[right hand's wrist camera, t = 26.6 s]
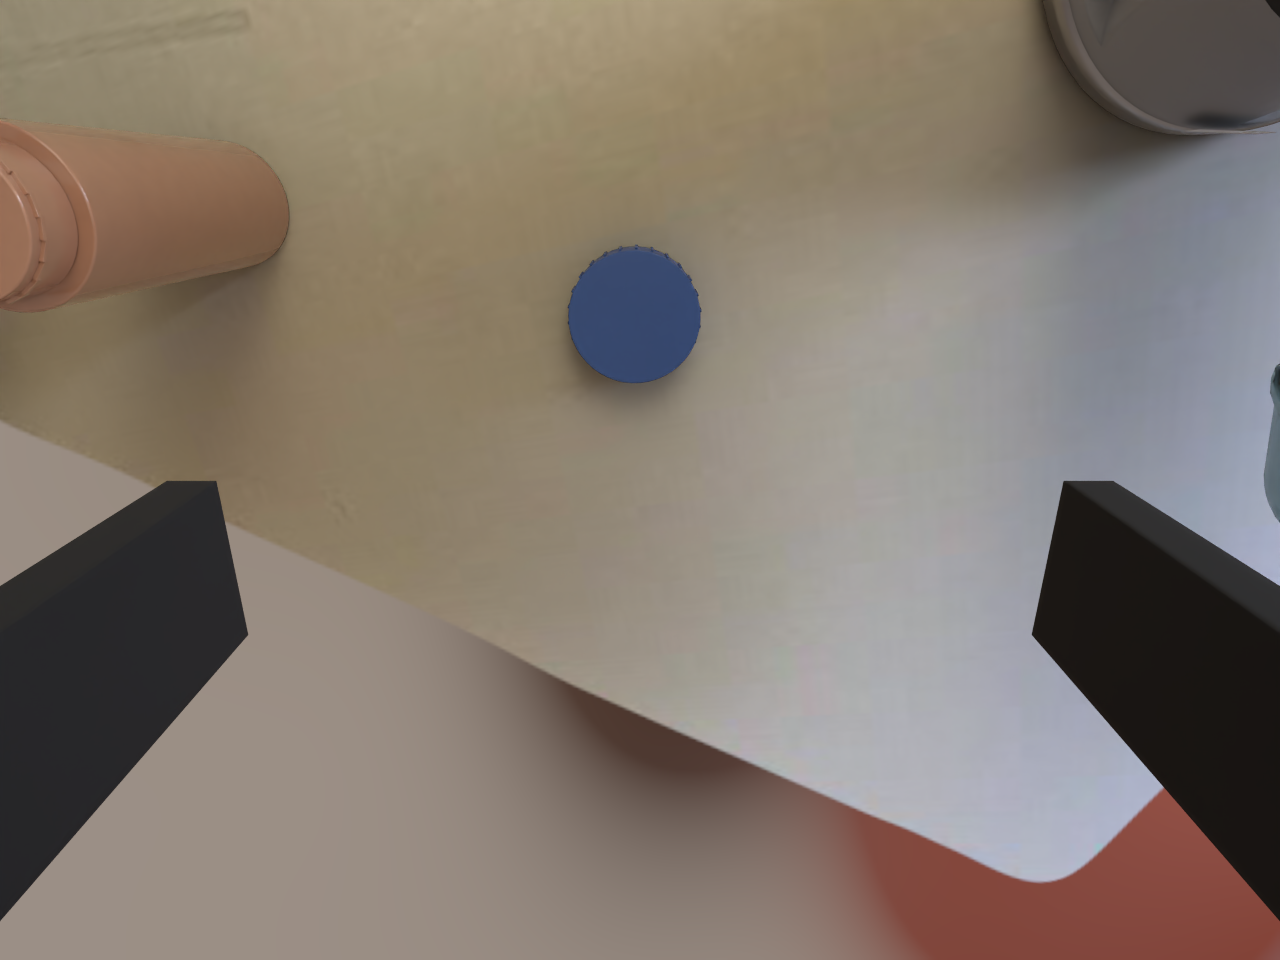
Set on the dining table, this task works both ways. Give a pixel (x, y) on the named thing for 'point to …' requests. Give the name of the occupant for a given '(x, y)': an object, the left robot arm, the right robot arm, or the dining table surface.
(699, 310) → the lid
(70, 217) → the jar
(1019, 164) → the dining table surface
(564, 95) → the dining table surface
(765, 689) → the dining table surface
